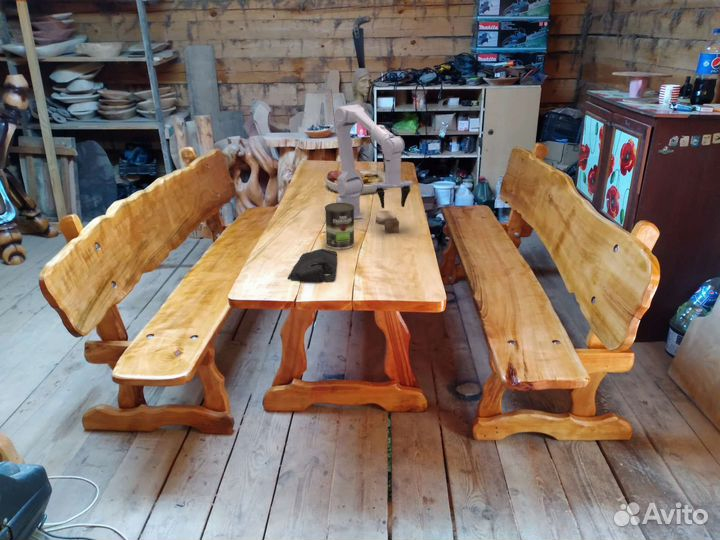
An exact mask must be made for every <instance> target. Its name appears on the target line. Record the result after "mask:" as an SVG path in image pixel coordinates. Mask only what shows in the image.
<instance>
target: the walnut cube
mask: <svg viewBox="0 0 720 540" xmlns="http://www.w3.org/2000/svg"><path fill="white" fill-rule="evenodd" d="M384 231H385V233H386V232H387V233H386V234H387V235H388V234H389V235H391V234H399V233H400V221H399V219H398V218H397V217H396V218H389V219H385V225H384Z"/></svg>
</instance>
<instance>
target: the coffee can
mask: <svg viewBox="0 0 720 540" xmlns="http://www.w3.org/2000/svg"><path fill="white" fill-rule="evenodd" d="M324 210H325V211H324V212H325V242H326V243H325V245H326V247H328V248H329V249H332V250H347V249H351V248H352V247H354V246H355V219H354V206H353V205H352V204H348V203H337V202H332V203H329V204H326V205H325V206H324ZM350 247H351V248H350Z"/></svg>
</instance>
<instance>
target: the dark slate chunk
mask: <svg viewBox="0 0 720 540" xmlns="http://www.w3.org/2000/svg"><path fill="white" fill-rule="evenodd" d="M337 267H338V252H337V251H336V250H330V249H325V248H320V249H316V250H312V251H308V252H305V253H302V254H301V255H300V257H299V259H298V260H297V262H296V263H295V264H294V266H293V267H292V269H291V271H290V273H289V274H288V277H287V280H290V281H291V282H302V283H311V284H315V283H316V284H319V283H328V282H335V281H336V277H337Z"/></svg>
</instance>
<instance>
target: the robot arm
mask: <svg viewBox="0 0 720 540" xmlns="http://www.w3.org/2000/svg"><path fill="white" fill-rule="evenodd" d="M333 119H334V125H335V132H336V133H335V134H336V139H337V146H338V151H339V159H340V167H341V171H342V173H341V174H340V176H339V177H338V178H337V179H338V185H337V190H338V192H337V193H338V194H339V195H337V196H336V198H335V199H336V202H335V203H348V204H352V205H353V206H354V220H355V219H356V220H357V219H362V218H363V217H362V215H361V211H360V210H361V209H360V207H361V205H360V203H361V202H360V201H361V200H360V198H361V195H362V194H361V192H362V191H363V188H364V184H363V181H362V179H361V174H360V173H358V172H357V171H356V165H355V164H356V163H355V157H354V150H353V142H352V137H351V136H352V135H351V130H352V128H353V127H354V126H355V125H357V124H359V125H360V126H361V127H362V128H364V129H365V130H367V131H368V132H369V133H370V137H371V138H372V139H373V141H374V142H376V143H377V144H378V145H379V146H380V147H381V150H382V152H383V153H384V158H385V172H384V174H385V182H380V183H373V189H374V190H376V191H377V192H376V193H377V196H378V197H379V201H380V206H381V209H385V193H386V192H385V190H384V189H399V188H400V191H401V192H400V193H401V194H400V195H401V198H400V199H401V200H400V205H401V207H402V208H404V207H405V204H406V201H407V198H408V196H409V194H410V193H411V188H414V187H413V183H414V182H413V181H412V180H402V163H401V159H402V153H403V152H404V150H405V145H406V144H405V141H404V139H403V138H402V137H401V136H400V135H398V136H396V135H395V134H393V133H391V132H390V131H389V130H388V129H387V128H386V126H385V125H383V124H376V123H375V121H373V119H372V118H371V117H370V116H369V115H368V114H367V113H366V111H365V108H364V107H362V105H360V104H359V103H355V104H351V105H350V104H349V105H343V106H341V105H340V106H337V107H336V109H335V110H334V111H333ZM350 178H352V179H350Z"/></svg>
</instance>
